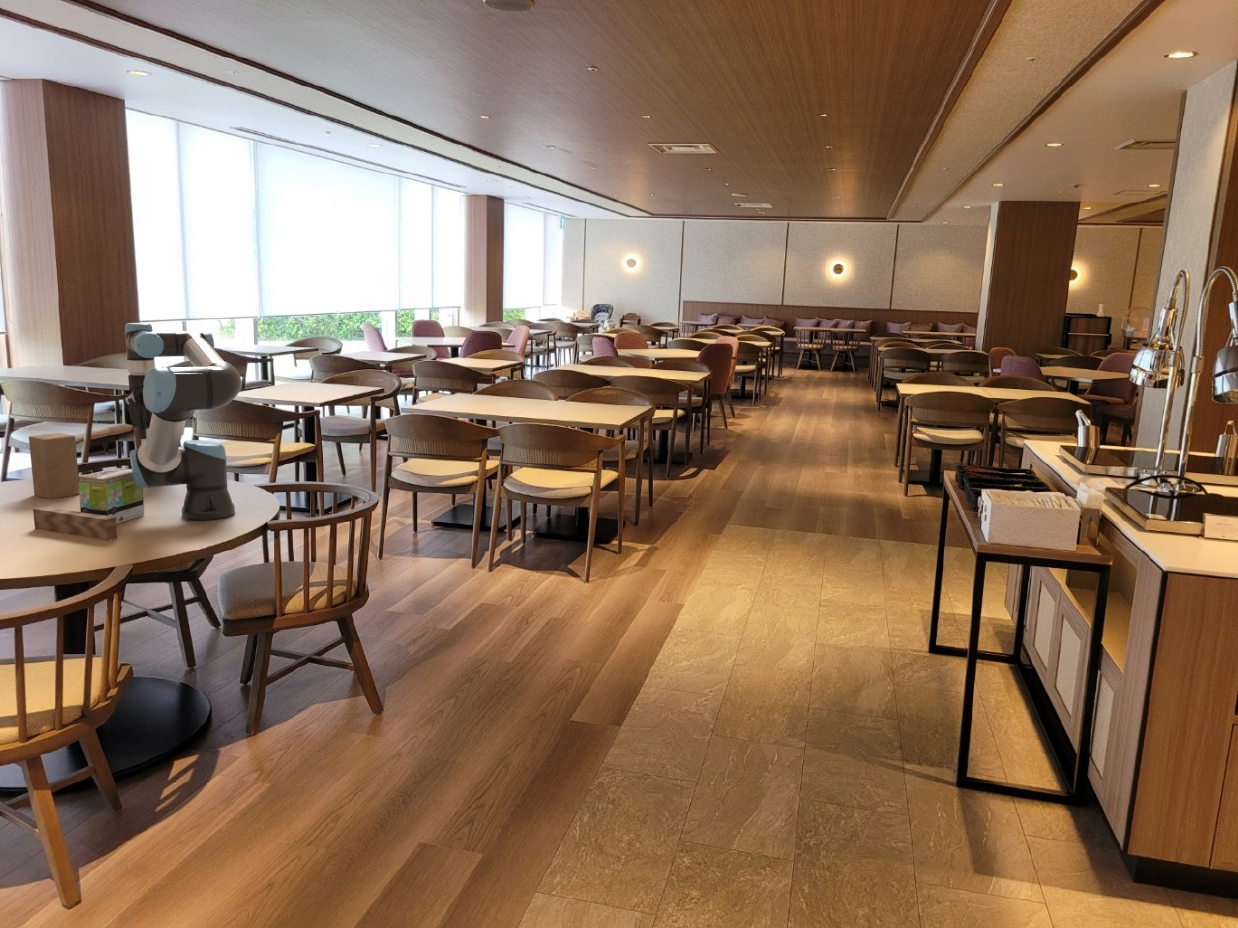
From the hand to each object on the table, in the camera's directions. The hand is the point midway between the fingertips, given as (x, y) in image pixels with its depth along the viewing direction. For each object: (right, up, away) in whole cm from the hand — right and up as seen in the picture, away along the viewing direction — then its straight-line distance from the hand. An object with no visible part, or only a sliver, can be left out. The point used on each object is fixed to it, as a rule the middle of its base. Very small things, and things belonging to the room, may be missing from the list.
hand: (147, 448), depth 282 cm
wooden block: (-40, -15, +20) cm, 47 cm away
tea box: (-5, -22, -9) cm, 24 cm away
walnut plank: (-8, -25, -25) cm, 36 cm away
